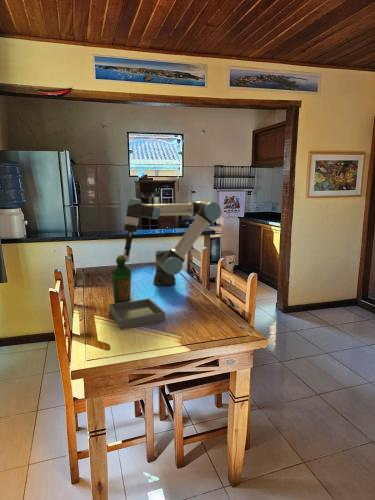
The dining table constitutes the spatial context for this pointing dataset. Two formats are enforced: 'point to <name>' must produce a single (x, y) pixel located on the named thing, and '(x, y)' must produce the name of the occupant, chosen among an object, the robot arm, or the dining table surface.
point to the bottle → (121, 281)
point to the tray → (136, 313)
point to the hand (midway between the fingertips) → (125, 260)
